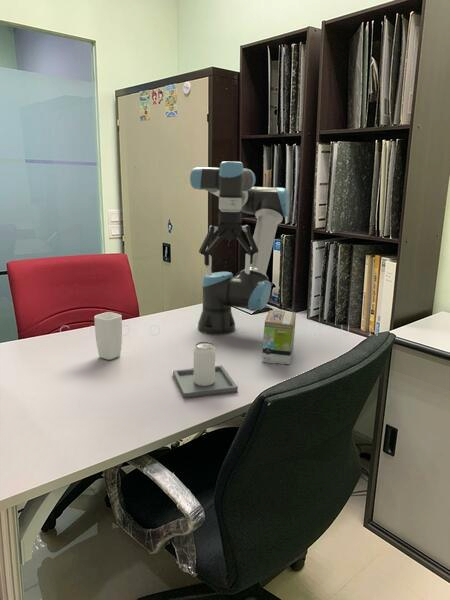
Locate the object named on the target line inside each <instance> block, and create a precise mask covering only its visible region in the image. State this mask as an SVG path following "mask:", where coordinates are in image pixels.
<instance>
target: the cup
mask: <svg viewBox="0 0 450 600" xmlns="http://www.w3.org/2000/svg"><path fill="white" fill-rule="evenodd" d="M93 318H94V319H93V320H94V330H95V331H94V333H95V334H94V335H95V341H96V347H97V354H98V357H99V358H101V359H104V360H108V361H111V360H114V359H116V358H119V357H120V356H121V351H122V344H123V343H122V341H123V321H122V320H123V319H122V314H119V313H116V312H112V311H106V312H103V313H99V314H96V315H94V317H93Z"/></svg>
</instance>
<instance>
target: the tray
mask: <svg viewBox="0 0 450 600" xmlns="http://www.w3.org/2000/svg"><path fill="white" fill-rule="evenodd" d="M172 377H173V378H174V381H175V383H176V386H177V388H178V390H179V392H180V394H181V395H182V397H183V400H188V399H196V398H197V399H198V398H205V397H212V396H220V395H221V396H222V395H228V394H229V395H230V394H238V390H239V388H238V387H239V386H238V385H237V384H236V383H235V381H234V380H233V378H232V377H231V376H230V375H229V373H228V372H227V370H226V369H225V368H224V367H223V365H215V382H214V383H213V384H212V385H210V386H199V385H197V384H195V382H194V367H193V368H185V369H174V370H173V371H172Z"/></svg>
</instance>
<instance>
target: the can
mask: <svg viewBox="0 0 450 600" xmlns="http://www.w3.org/2000/svg"><path fill="white" fill-rule="evenodd" d="M194 346H195V347H194V349H193V368H194V382H195V384H197V385H199V386H210V385H212V384H213V383H214V382H215V366H216V347H215V344H214V343H213V342H210V341H198V342H197V343H195V345H194Z"/></svg>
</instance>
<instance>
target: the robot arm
mask: <svg viewBox="0 0 450 600" xmlns="http://www.w3.org/2000/svg"><path fill="white" fill-rule="evenodd" d="M256 180H257V179H256V175H255V173H254V172H253V171H252V170H251V169H249V168H247V167H245V168H244V164H243V162H241V161H221V163H219V167H203V166H202V167H201V166H200V167H194V168H192V170H191V172H190V176H189V183H190V186H191V187H192V188H193V189H194V190H199V191H201V190H204V191H206V192H209V193H211V194H212V195H214V196H216V197H218V209H219V212H218V224H217V226H214V225H209V226H208V230H207V231H208V232H207V234H206V236H205V238H204V240H203V241H202V243H201V246H200V248H199V250H198V252H199V254H200V255H203V256H204V257H203V259H204V265H205V266H206V275H204V276H203V279H202V311H201V314H200V317H199V319H198V323H197V330H199V331H200V332H201V333H204V334H209V335H227V334H230V333H232V332H234V331H235V329H236V323H235V318H234V316H233V312H232V307H233V308H240V309H247V310H251V311H252V310H256V311H257V310H259V311H260V310H263V309H264V308H265V307H266V306H267V304H268V303H269V302H268V301H269V299H270V297H271V293H272V292H271V290H272V284H271V282H270V281H269V277H268V275H267V270H268V266H269V262H270V258H271V254H272V250H273V245H274V243H275V242H274V241H275V238H276V233H277V230H278V225H279V224H281V223H282V222H283V219H284V218H285V217H288V216H289V214H290V210H291V209H290V208H291V207H290V205H291V204H290V203H291V201H290V195H289V194H290V193H289V192H288V190H287V188H285V187H278V186H276V187H271V186H270V187H268V186H267V187H265V186H255V184H256ZM242 213H245V214H249V215H254V216H255V218H256V219H257V220H256V224H255V228H254V233H253V234H252V233H251V232H252V231H251V230H252V229H251V225H248V224H245V225H242ZM242 231H243V232H244V233H245V235H246V239H247V240H248V241H247V242H248V243H249V244H248V243H247V242H246V241H245V239H244V238H243V237H242V235H241V232H242ZM216 232H218V234H217V235H216V237H215V239H214V240H213V241H212V242H211V240H212V238H213V236H214V234H215V233H216ZM224 239H225V240H235V239H236V240H237V242H239V244H240V245H241V246H242V247H243V248H244V250H245V251H246V253H245V257H244V258H245V259H244V260H245V262H244V269H242V270H241V271H240V272H239V276H238V277H235V276H233V275H234V274H233V273H232V272H231V271H230V272H229V271H217V272H212V263H213V262H212V260H213V259H212V256H211V254H212V253H213V251H214V250H216V248H217V247H218V246H219V244H220V243H221V242H222V241H223V240H224ZM210 242H211V243H210ZM209 244H210V245H209Z"/></svg>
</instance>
